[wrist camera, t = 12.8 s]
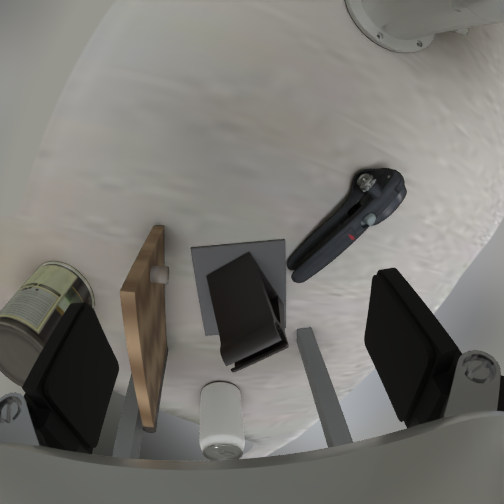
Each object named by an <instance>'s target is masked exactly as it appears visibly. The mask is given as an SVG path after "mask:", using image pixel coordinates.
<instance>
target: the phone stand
mask: <svg viewBox="0 0 504 504" xmlns="http://www.w3.org/2000/svg"><path fill="white" fill-rule="evenodd" d="M206 278H207V282H208V287H209V292H210V296H211V301H212V305H213V310H214V314H215V318H216V323H217V327H218V331H219V335H220V341H221V347H220V352H221V356H222V359H223V361H224V363H225V365H226V366H228V365H230V364H232V363H235V367H234V368H232V369H231V372H236V371H239V370H241V369H243V368H245V367H247V366H250V365H252V364H254V363H256V362H258V361H261V360H263V359H265V358H267V357H269V356H271V355H273V354H275V353H277V352H280V351H282V350H284V349H286V348H288V341H287V338H286V335H285V316H284V304H283V302H282V301H281V299H280V298H279V296H278V295H277V293H276V292H275V290H274V289H273V287H272V286H271V284H270V282H269V281H268V280H267V278H266V276H265V275H264V273H263V272H262V270H261V269H260V267H259V266H258V264H257V263H256V261H255V260H254V258H253V256H252V255H251V253H250V252H248V253H247V254H245V255H243V256H241V257H239V258H238V259H236V260H234V261H232V262H231V263H229V264H227V265H225V266H223V267H222V268H220V269H218V270H216V271H215V272H213V273H211V274H209V275H207V276H206Z"/></svg>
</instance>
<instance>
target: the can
mask: <svg viewBox="0 0 504 504" xmlns="http://www.w3.org/2000/svg"><path fill="white" fill-rule="evenodd" d="M244 446H245V438H244V426H243V415H242V404H241V394H240V391H239V389H238V388H237V387H236V386H234V385H233V384H230V383H227V382H213V383H210V384H208V385H207V386H205V387H204V388H203V389H202V391H201V401H200V447H201V449H202V451H203V456H204V457H205V458H206V459H208V460H210V461H216V460H236V459H239V458H241V457H242V455H243V452H242V451H243V449H244Z"/></svg>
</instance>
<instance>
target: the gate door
mask: <svg viewBox="0 0 504 504" xmlns="http://www.w3.org/2000/svg"><path fill="white" fill-rule="evenodd" d="M168 279H169V267H164V226H153V228H152V230H151V232H150V234H149V235H148V237H147V239H146V241H145V243H144V245H143V247H142V248H141V250H140V252H139V254H138V256H137V258H136V260H135V262H134V264H133V266H132V268H131V270H130V272H129V274H128V276H127V278H126V280H125V282H124V284H123V286H122V288H121V290H120V297H121V306H122V314H123V322H124V329H125V336H126V342H127V349H128V355H129V361H130V366H131V372H132V377H133V382H134V387H135V392H136V397H137V401H138V406H139V410H140V415H141V419H142V423H143V425H142V429H143V430H144V431H146V432H148V433H154V432H156V427H157V419H158V412H159V405H160V398H161V392H162V385H163V379H164V373H165V367H166V361H167V355H168V348H167V343H166V324H165V298H164V284H168Z"/></svg>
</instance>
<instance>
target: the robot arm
mask: <svg viewBox="0 0 504 504" xmlns="http://www.w3.org/2000/svg"><path fill="white" fill-rule="evenodd" d="M345 1H346V5H347V8H348V11H349V13H350V15H351V17H352V19H353V20H354V22H355V23H356V25H357V26H358V27H359V28H360V29H361V31H362V32H363V33H364V34H365V35H366V36H368V37H369V38H370V39H371V40H372V41H374V42H375V43H377V44H378V45H380V46H382V47H384V48H386V49H388V50H391V51H395V52H400V53H411V52H416V51H420V50H422V49H424V48H426V47H427V46H428V45H430V44H431V43H432V41H433V39H434V38H435V36H436V34H438V33H443V32H448V31H453V32H455V33H458V34H461V35H466V34H467V33H468V27H474V26H480V25H487V24H494V23H501V22H504V0H345ZM377 36H378V37H377ZM364 341H365V346H366V348H367V350H368V353H369V355H370V357H371V359H372V361H373V363H374V365H375V368H376V370H377V372H378V374H379V376H380V378H381V381H382V383H383V385H384V387H385V390H386V392H387V394H388V396H389V399H390V401H391V403H392V405H393V408H394V410H395V412H396V415H397V417H398V419H399V420H400V421H401V422H402V421H404V422H405V425H406V427H407V429H404V430H401V431H397V432H393V433H389V434H386V435H382V436H378V437H374V438H370V439H366V440H362V441H358V442H353V443H349V444H344V445H339V446H335V447H330V448H324V449H319V450H313V451H308V452H301V453H294V454H287V455H278V456H270V457H260V458H249V459H236V460H216V461H163V460H142V459H129V458H118V457H108V456H100V455H93V454H92V450H93V448H95V447H96V446H97V444H98V440H99V437H100V433H101V429H102V425H103V422H104V418H105V415H106V411H107V407H108V404H109V401H110V398H111V394H112V391H113V388H114V385H115V381H116V378H117V375H118V372H119V365H118V361H117V359H116V357H115V355H114V353H113V351H112V349H111V347H110V345H109V343H108V341H107V338H106V336H105V334H104V332H103V330H102V327H101V325H100V323H99V321H98V318H97V316H96V314H95V311H94V309H93V307H92V306H89V305H88V304H87V303H86V302H80V303H71V304H70V305H69V306H68V308H67V309H66V311H65V313H64V314H63V316H62V317H61V319H60V321H59V322H58V324H57V326H56V327H55V329H54V331H53V332H52V334H51V336H50V337H49V339H48V341H47V342H46V344H45V346H44V348H43V349H42V351H41V353H40V355H39V356H38V358H37V360H36V362H35V364H34V366H33V367H32V369H31V371H30V373H29V375H28V377H27V379H26V381H25V383H24V384H23V386H22V388H23V390H24V391H25V395H24V397H23V396H22V395H21V394H19V393H9V394H6V395H4V396H3V397H1V398H0V504H504V376H501V372H500V366H499V364H498V362H497V361H496V360H495V359H494V357H492V356H491V355H490V354H488V353H486V352H483V351H478V350H473V351H468V352H465V353H463V354H462V353H461V352H460V350H459V349H458V347H457V346H456V344H455V343H454V341H453V340H452V339H451V337H450V336H449V335H448V333H447V332H446V331H445V329H444V328H443V327H442V325H441V324H440V323H439V321H438V320H437V319H436V317H435V316H434V315H433V313H432V312H431V311H430V309H429V308H428V307H427V306H426V304H425V303H424V302H423V301H422V299H421V298H420V297H419V296H418V294H417V293H416V292H415V291H414V289H413V288H412V287H411V286H410V284H409V283H408V282H407V281H406V280H405V278H404V277H403V276H402V275H401V274H400V272H399V271H398V270H397V269H396V268H389V269H383V270H379V271H378V272H377V275H374V276H373V278H372V286H371V294H370V302H369V310H368V317H367V324H366V330H365V337H364Z"/></svg>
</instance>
